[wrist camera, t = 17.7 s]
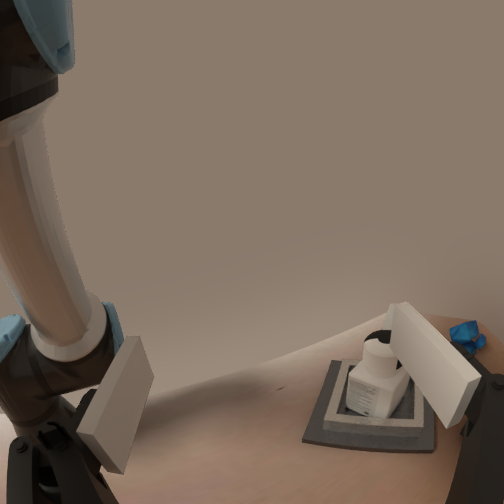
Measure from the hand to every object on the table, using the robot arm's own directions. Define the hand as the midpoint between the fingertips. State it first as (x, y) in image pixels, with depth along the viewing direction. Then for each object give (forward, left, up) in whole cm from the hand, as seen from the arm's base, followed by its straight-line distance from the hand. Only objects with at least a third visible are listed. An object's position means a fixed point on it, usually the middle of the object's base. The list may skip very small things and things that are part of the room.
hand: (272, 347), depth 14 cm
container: (+6, +24, -29) cm, 38 cm away
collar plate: (+7, +25, -29) cm, 39 cm away
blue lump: (+25, +39, -30) cm, 55 cm away
